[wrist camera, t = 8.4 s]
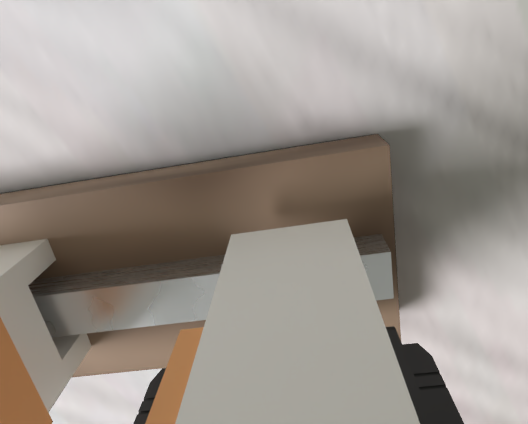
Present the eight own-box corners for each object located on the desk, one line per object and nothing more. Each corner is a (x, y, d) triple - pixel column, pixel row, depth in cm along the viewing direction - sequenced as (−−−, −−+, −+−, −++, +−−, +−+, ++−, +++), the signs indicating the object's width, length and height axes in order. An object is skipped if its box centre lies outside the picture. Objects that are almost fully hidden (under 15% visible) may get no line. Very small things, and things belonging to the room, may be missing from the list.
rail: (-63, 203, 19) (-582, 436, 7) (377, 134, 16) (572, 316, 5) (14, 357, 22) (-266, 677, 11) (390, 315, 20) (526, 664, 9)
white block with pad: (208, 237, 14) (61, 597, 5) (347, 218, 14) (477, 583, 4) (239, 362, 16) (176, 784, 7) (360, 350, 16) (469, 790, 6)
